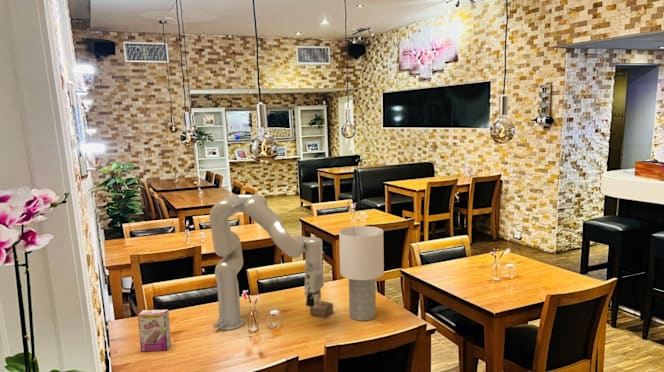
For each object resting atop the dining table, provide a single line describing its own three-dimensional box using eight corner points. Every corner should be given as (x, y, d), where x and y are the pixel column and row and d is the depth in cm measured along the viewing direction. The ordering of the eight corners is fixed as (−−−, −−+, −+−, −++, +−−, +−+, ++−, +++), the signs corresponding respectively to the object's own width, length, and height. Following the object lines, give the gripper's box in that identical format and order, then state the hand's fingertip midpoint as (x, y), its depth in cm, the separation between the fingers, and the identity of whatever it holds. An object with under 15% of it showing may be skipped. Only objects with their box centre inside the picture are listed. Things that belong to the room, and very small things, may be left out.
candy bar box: (140, 352, 186) (137, 314, 183) (145, 346, 190) (141, 309, 188) (167, 351, 186) (164, 313, 184) (171, 345, 191) (168, 308, 188)
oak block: (315, 308, 200) (315, 295, 199) (306, 305, 202) (306, 293, 201) (320, 304, 205) (321, 291, 204) (311, 302, 207) (311, 289, 206)
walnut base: (324, 319, 213) (323, 309, 212) (310, 315, 217) (309, 305, 216) (333, 313, 219) (332, 303, 219) (319, 309, 224) (319, 300, 223)
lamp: (373, 304, 228) (372, 224, 222) (391, 321, 208) (390, 233, 202) (335, 310, 222) (333, 228, 216) (349, 328, 202) (347, 238, 196)
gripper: (311, 272, 192) (311, 312, 194) (329, 261, 207) (329, 298, 209) (296, 269, 195) (296, 309, 197) (315, 258, 210) (315, 295, 213)
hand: (313, 303), depth 203 cm, fingers closed on oak block, 5 cm apart
